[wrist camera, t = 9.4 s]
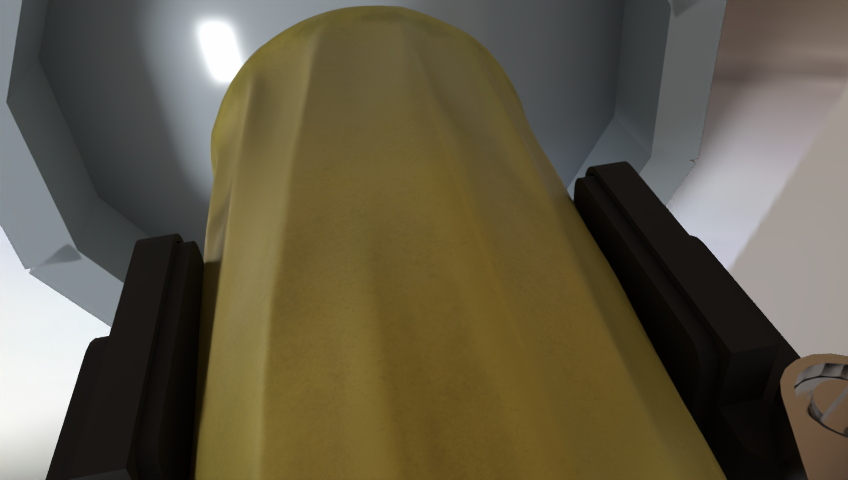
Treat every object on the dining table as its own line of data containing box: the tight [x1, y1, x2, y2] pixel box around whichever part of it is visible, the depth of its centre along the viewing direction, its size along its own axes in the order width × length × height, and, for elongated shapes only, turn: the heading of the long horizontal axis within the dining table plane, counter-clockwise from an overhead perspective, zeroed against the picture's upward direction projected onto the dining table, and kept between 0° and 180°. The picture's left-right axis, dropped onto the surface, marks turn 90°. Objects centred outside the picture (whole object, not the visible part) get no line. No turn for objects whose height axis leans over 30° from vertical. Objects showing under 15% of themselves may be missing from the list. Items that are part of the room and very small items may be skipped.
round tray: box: [0, 0, 727, 327], centre depth 16 cm, size 15×15×3 cm
